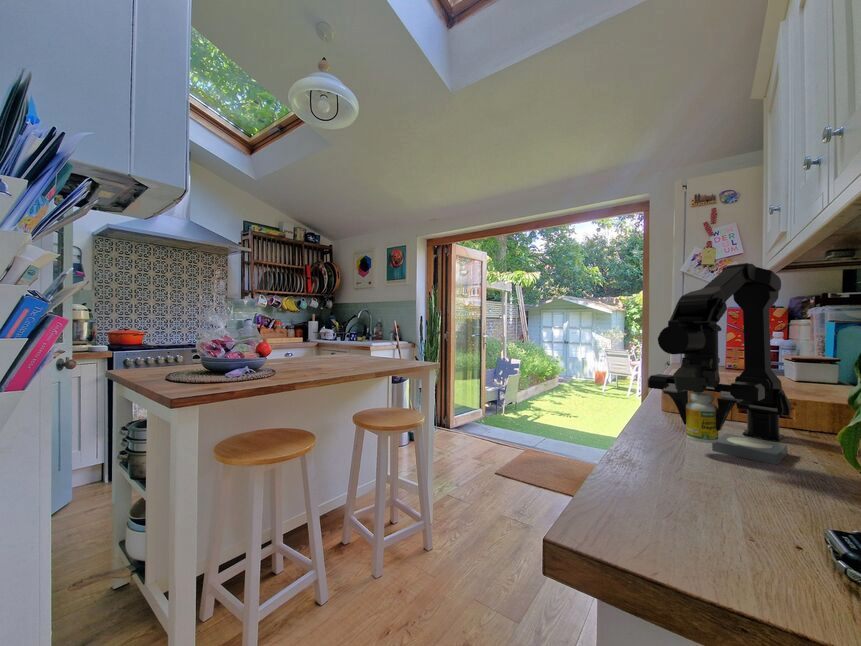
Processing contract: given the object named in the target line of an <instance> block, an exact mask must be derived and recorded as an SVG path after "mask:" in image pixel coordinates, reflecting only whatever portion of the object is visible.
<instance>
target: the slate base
mask: <svg viewBox="0 0 861 646" xmlns="http://www.w3.org/2000/svg"><path fill="white" fill-rule="evenodd" d="M711 447H712V449H711V450H712V451H714V452H719V453H723V454H727V455H732V456H735V457H739V458H744V459H748V460H752V461H756V462H757V461H758V462H762V463H765V464H771V465H773V466H774V465H775V466H778V464H780V462H781V461H782V460H783V459H784V458H786V456H787V455H788V444H786V443H780V442H776V441H771V440H766V439H761V438H755V437H750V436H745V435H739V434H733V433H727V432H726V433H724V434H722V435H721V436H718V441H717V442H716V443H711Z"/></svg>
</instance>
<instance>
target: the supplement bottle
mask: <svg viewBox="0 0 861 646" xmlns="http://www.w3.org/2000/svg"><path fill="white" fill-rule="evenodd" d="M688 393H689V394H688V399H689V400H690V401H688V403H687V404H686V425H685V426H686V427H685V429H686V430H685V431H686V438H688V440H692V441H695V442H697V443H705V444H712V443H716V442H717V441H718V438H719V431H717V425H716V422H717V413H718V406H717V405H716V404H714V403H713V402H714V400H715V399H714V394H712V393H708V392H701V393H696V392H693V391H690V392H688Z"/></svg>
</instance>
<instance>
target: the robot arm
mask: <svg viewBox="0 0 861 646" xmlns="http://www.w3.org/2000/svg"><path fill="white" fill-rule="evenodd" d="M781 288H782V280H781V277H779V275H777V273H775V272H774V271H772V270H770V269H766V268H762V267H758V266H756V265H755V264H753V263H749V262H744V263H737V264H729V265H727V266H724V267H723V268H722V271H721V272H719V274H717V276H715V277H714V278H713V279H712V280H711V281H709V282H708V283H707V284H706V285H705V286H703V288H702V287H701V288H700V289H698V290H693V291H690V292H688V293H685V294H683V295H681V297H680V298H679V299H678V301H677V303H676V305H675V308H674V309H673V312H672V314H671V317H670V319H669V320H668V321H667V326H666V327H664V328H663V329H661V331H660V332H659V334H658V337H657V344H658V345H659V347H660V349H661V350H662V351H663V352H665V353H666V354H668V355H683V357H682V358H681V365H680V367H679V368H678V369H677V370H676V371H675V372H674V373H673V374H662V373H657V374H653V375H650V376H649V377H648V379H647V388H648V389H655V390H663V391H662V393H663V394H665V395H668V396H669V397H670V399H672V400H673V402H674V405H675V407H676V409H677V410H678V411H677V412H678V413H679V415H680V419H681V421H682V423H683V425H685V426H686V404H687V403H688V402H689V394H688V393H689V392H696V393H705V392H711V393H712V392H713V393H720V395H721V396H719V397H717V398H716V401H717V408H718V413H717V422H716V425H717V431H718V432H720V431H722V429H723V427H724V424H725V422H726V420H727V418H728V416H729V414H730V412H731V410H732V409H733V407H734V406H735V405H736V408H737V409H739V410H741V409H742V410H746V421H747V422H746V425H747V426H746V430H744V431H743V432H742V434H741V436H745V437H750V438H755V439H761V440H766V441H771V442H781V440H783V439H784V438H785V435H784V434H780V416H791V411H792V408H791V407H792V406H791V403H790V401H789V399H788V397H787V395H786V393H785V391H784V390H783V387H782V381H781V379H780V378H779V377H778V376H777V375H776V373H775V372H774V371H773V370H772V356H771V355H772V352H771V351H772V350H771V325H770V323H771V321H770V311H771V310H770V309H771V308H772V307H773V305H774V304H775V303H776V302H777V301H778V299H779V291H780V290H781ZM732 296H733V297H732ZM731 297H732V298H733V301H734V303H735V304H736V305H737V306H738V307H739V308H740V309H741V311H742V324H743V325H742V326H743V358H744V369H743V371H742V372H741V373H740V374H739V375H737V376H735V379H734V382H731V384H727V383H721V378H720V372H719V367H720V366H719V363H720V362H721V361H720V357H719V332H722V327H721V326H720V325H719V324H718V322H720V321H721V318H723V316H724V314H725V313H726V311H727V309H728V307H727V300H729V299H730V298H731Z"/></svg>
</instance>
